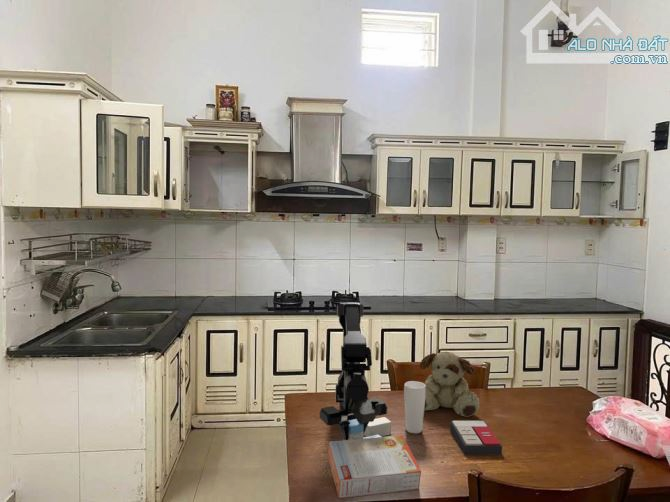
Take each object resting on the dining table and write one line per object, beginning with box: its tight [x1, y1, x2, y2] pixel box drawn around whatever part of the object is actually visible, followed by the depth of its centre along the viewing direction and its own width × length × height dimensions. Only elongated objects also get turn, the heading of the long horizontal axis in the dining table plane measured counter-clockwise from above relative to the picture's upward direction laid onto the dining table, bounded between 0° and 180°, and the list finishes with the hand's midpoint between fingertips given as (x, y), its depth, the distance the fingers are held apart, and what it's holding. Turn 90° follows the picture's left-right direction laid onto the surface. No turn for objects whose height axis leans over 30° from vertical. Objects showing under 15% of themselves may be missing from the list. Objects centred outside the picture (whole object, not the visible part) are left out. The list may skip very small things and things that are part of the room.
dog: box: [418, 351, 480, 418], centre depth 164 cm, size 23×19×20 cm
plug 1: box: [348, 419, 364, 440], centre depth 126 cm, size 5×4×8 cm
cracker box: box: [327, 434, 422, 499], centre depth 116 cm, size 14×6×21 cm
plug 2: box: [363, 416, 392, 437], centre depth 142 cm, size 4×8×4 cm, turn 116°
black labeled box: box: [449, 420, 503, 456], centre depth 137 cm, size 11×4×15 cm
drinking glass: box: [403, 380, 426, 434], centre depth 144 cm, size 7×7×15 cm
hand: (353, 440), depth 126 cm, fingers closed on plug 1, 4 cm apart
